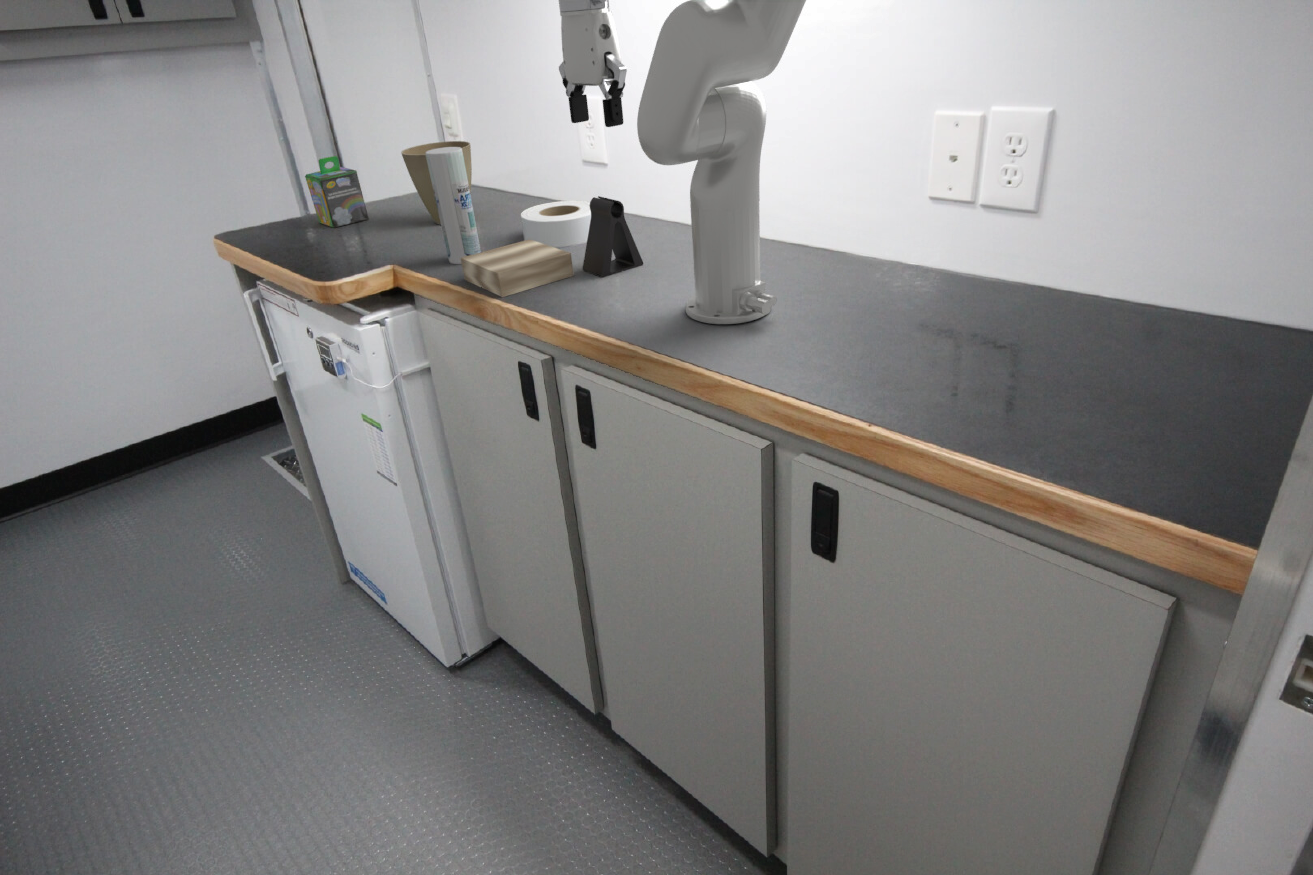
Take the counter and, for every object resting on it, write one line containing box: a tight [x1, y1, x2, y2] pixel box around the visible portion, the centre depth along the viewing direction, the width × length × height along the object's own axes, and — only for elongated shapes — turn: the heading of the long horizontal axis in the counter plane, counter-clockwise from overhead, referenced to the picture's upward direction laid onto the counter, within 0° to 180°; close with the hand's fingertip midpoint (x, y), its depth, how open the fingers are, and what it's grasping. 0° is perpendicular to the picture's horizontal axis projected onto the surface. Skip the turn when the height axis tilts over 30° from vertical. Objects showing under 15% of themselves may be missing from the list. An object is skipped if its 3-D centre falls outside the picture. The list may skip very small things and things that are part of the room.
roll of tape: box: [520, 200, 591, 249], centre depth 159 cm, size 16×16×6 cm
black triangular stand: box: [582, 195, 644, 278], centre depth 136 cm, size 9×6×12 cm, turn 127°
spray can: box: [425, 147, 482, 265], centre depth 147 cm, size 6×6×20 cm
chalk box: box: [304, 155, 369, 229], centre depth 184 cm, size 9×9×15 cm
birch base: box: [461, 239, 575, 298], centre depth 138 cm, size 14×14×4 cm
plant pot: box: [400, 140, 473, 225], centre depth 176 cm, size 15×15×16 cm
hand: (597, 123), depth 128 cm, fingers open, 9 cm apart
